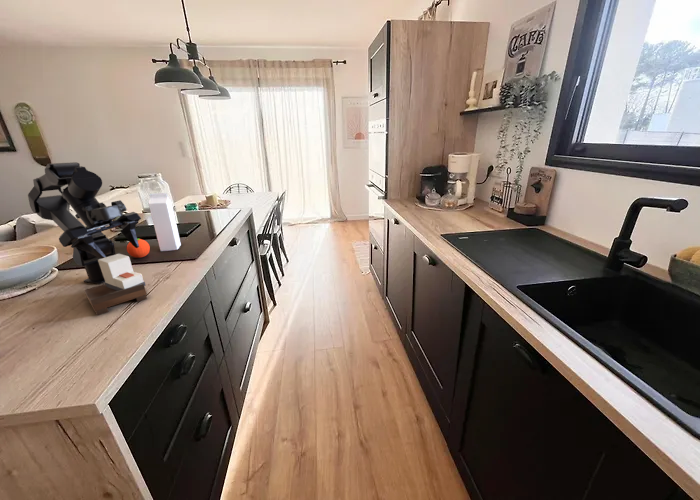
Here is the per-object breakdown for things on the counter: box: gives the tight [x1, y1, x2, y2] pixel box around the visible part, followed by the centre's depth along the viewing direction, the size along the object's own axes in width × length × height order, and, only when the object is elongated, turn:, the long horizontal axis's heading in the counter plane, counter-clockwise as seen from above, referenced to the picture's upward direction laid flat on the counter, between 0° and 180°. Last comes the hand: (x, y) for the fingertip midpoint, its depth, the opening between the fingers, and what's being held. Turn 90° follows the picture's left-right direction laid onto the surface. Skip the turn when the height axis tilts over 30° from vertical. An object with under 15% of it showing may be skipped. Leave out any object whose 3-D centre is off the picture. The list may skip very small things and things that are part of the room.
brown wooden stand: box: [83, 283, 148, 316], centre depth 77 cm, size 12×11×4 cm
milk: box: [148, 192, 182, 252], centre depth 111 cm, size 6×6×22 cm
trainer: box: [98, 253, 147, 291], centre depth 77 cm, size 10×5×8 cm, turn 64°
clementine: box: [126, 238, 151, 259], centre depth 106 cm, size 8×7×7 cm
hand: (122, 253), depth 82 cm, fingers open, 9 cm apart
